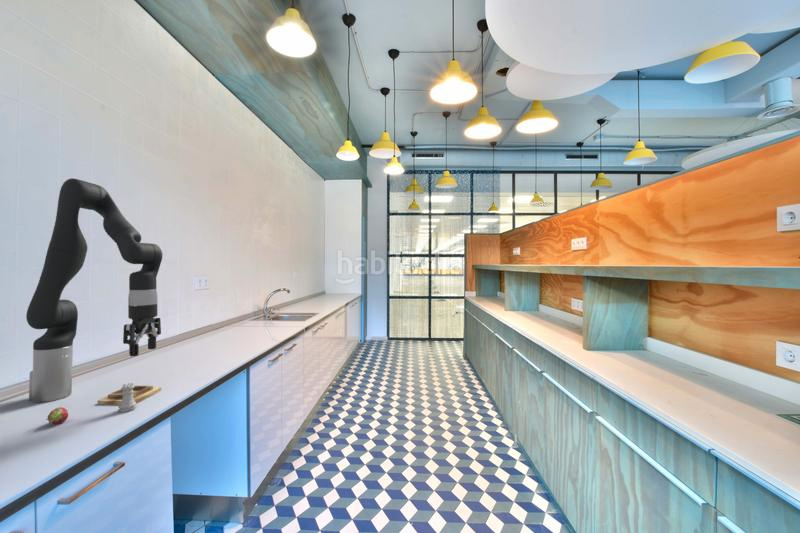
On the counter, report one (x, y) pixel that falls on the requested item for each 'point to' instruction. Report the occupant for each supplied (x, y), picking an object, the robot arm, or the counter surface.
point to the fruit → (57, 416)
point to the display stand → (138, 395)
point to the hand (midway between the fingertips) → (143, 352)
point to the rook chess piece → (127, 399)
